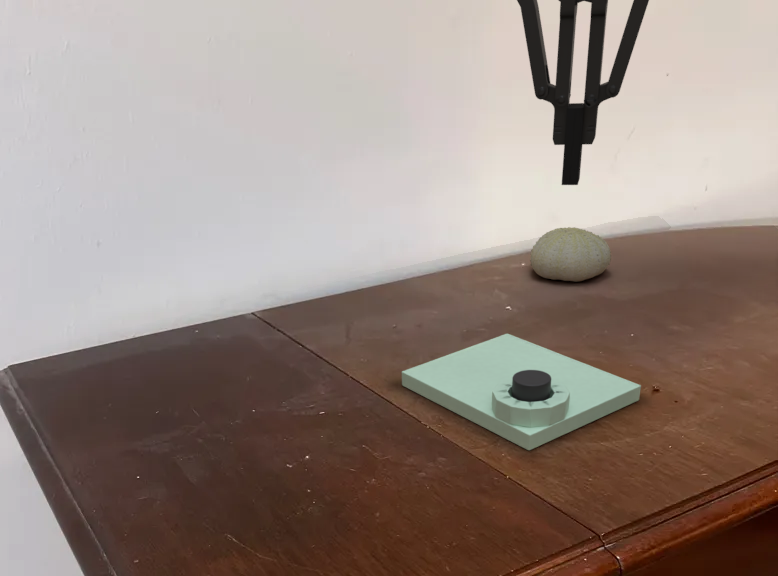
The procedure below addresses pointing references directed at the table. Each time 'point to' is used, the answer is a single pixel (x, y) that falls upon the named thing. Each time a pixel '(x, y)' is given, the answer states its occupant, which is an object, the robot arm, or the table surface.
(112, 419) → the table surface
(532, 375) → the power button
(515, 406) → the scale
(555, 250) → the sea urchin shell
